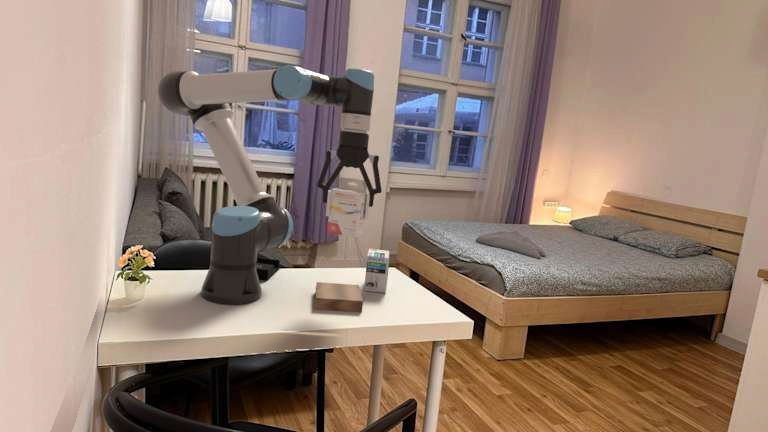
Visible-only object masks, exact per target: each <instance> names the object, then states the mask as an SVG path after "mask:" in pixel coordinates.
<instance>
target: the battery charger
mask: <svg viewBox="0 0 768 432" xmlns="http://www.w3.org/2000/svg"><path fill="white" fill-rule="evenodd" d="M280 263H281V261H280V259H275V258H273V259H272V258H265V257H259V256H257V263H256V270H257V274H258V278H259V281H265V282H268V281H270V280H271V278H272V277H273V276H274V275H275V274H277V272H278V271H279V270H280V269H281V265H280Z"/></svg>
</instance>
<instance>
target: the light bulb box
mask: <svg viewBox="0 0 768 432" xmlns="http://www.w3.org/2000/svg"><path fill="white" fill-rule="evenodd" d="M389 266H390V250H386V249H385V250H383V249H378V248H377V249H376V248H368V251H367V256H366V266H365V278H364V285H363V287H364V288H363V291H364V292H372V293H383V294H386V293H387V285H388V279H389V278H388V276H389Z"/></svg>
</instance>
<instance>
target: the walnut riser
mask: <svg viewBox="0 0 768 432" xmlns="http://www.w3.org/2000/svg"><path fill="white" fill-rule="evenodd" d="M361 291H362V290H361V287H360V284H352V283H351V284H349V283H336V282H334V283H333V282H321V281H320V282H318V281H317V282H316V284H315V305H314V306H315V310H322V311H323V310H324V311H339V312H356V313H363V307H364V306H363V305H364V299H363V296H362V292H361Z"/></svg>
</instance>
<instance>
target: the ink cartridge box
mask: <svg viewBox="0 0 768 432" xmlns="http://www.w3.org/2000/svg"><path fill="white" fill-rule="evenodd" d="M349 183H350V184H349ZM351 183H354V184H357V185H354V184H351ZM367 190H368V188H367V185H366V183H365V181H364V179H359V178H351V177H344V176H340V177H339V179H338V187H336V188H335V187H334V188H331V198H330V209H329V216H327V219H328V220H327V227H326V228H327V230H326V233H329V234H335V235H340V236H345V237H350V238H358V237H360V236H362V235H363V233H364V223H365V219H364V214H365V205H366V196H367V194H368V193H367Z"/></svg>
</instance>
